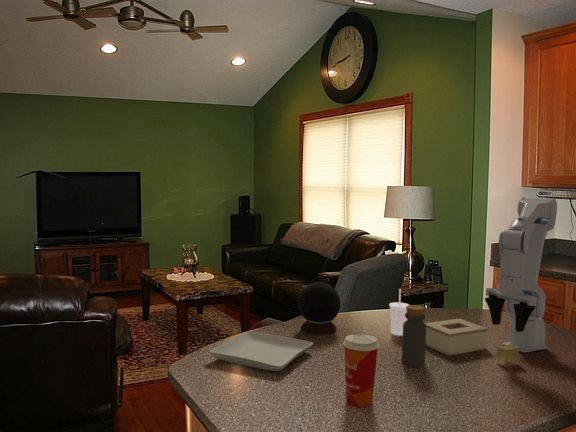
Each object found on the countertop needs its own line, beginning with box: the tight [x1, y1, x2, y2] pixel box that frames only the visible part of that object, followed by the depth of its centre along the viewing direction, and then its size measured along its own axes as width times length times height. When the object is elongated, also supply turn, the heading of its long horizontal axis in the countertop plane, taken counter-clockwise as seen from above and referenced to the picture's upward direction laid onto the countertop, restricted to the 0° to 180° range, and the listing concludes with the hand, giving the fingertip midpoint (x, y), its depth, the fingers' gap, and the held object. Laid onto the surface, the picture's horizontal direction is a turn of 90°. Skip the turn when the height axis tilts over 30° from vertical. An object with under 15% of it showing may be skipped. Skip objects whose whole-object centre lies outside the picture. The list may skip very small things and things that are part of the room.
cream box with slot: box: [424, 318, 488, 356], centre depth 154 cm, size 14×11×6 cm
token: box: [496, 345, 520, 368], centre depth 140 cm, size 5×3×5 cm, turn 116°
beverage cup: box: [388, 288, 410, 336], centre depth 165 cm, size 6×6×14 cm
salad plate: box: [208, 330, 314, 372], centre depth 142 cm, size 21×21×3 cm
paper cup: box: [342, 333, 380, 408], centre depth 115 cm, size 8×8×14 cm
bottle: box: [401, 304, 427, 368], centre depth 139 cm, size 6×6×15 cm
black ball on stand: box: [298, 281, 341, 336], centre depth 168 cm, size 13×13×15 cm
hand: (507, 327), depth 140 cm, fingers open, 7 cm apart
